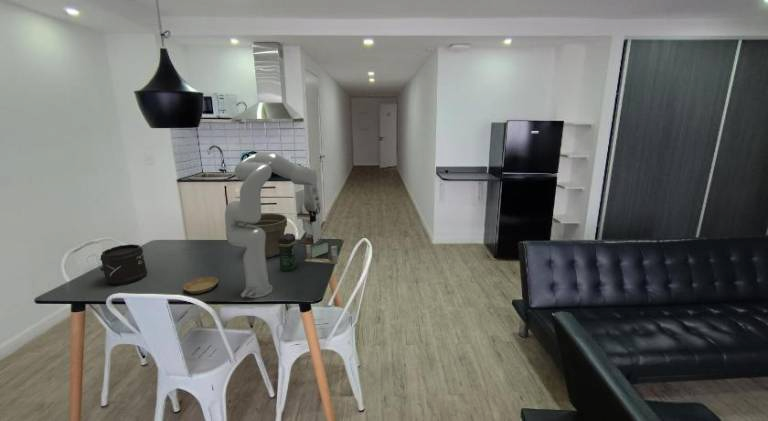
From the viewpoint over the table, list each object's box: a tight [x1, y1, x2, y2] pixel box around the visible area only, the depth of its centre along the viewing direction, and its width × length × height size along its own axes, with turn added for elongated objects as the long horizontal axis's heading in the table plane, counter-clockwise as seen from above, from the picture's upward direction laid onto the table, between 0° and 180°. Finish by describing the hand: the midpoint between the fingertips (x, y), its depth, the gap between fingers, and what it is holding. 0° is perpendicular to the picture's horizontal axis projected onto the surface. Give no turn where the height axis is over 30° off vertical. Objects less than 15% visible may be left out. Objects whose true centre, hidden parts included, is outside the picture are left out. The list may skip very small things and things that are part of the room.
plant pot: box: [243, 213, 288, 258], centre depth 205 cm, size 25×25×22 cm
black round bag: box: [99, 243, 148, 287], centre depth 174 cm, size 18×18×16 cm
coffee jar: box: [278, 233, 298, 272], centre depth 184 cm, size 10×8×19 cm
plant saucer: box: [182, 276, 219, 294], centre depth 165 cm, size 15×15×3 cm
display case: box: [294, 187, 323, 248], centre depth 219 cm, size 11×11×35 cm
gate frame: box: [304, 244, 340, 265], centre depth 193 cm, size 4×19×9 cm, turn 75°
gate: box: [311, 242, 329, 258], centre depth 201 cm, size 12×2×6 cm, turn 140°
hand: (313, 221), depth 201 cm, fingers closed
